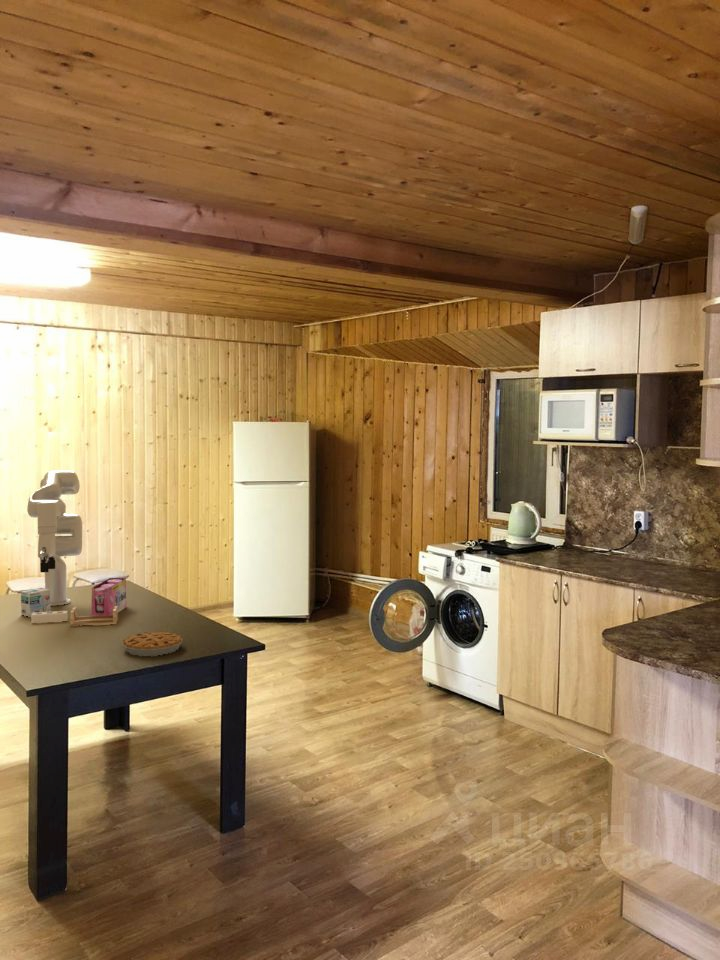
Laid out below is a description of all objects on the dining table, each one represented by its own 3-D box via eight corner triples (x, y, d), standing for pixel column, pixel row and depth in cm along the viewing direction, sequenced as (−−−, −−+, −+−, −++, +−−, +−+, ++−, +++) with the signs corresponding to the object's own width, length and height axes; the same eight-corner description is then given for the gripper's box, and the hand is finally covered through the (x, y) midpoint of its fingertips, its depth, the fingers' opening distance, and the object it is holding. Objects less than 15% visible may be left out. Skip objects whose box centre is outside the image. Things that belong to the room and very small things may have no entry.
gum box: (107, 619, 341) (107, 588, 340) (89, 619, 341) (89, 588, 340) (126, 607, 365) (126, 577, 364) (110, 606, 365) (109, 577, 364)
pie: (193, 650, 297) (193, 637, 297) (140, 662, 282) (140, 648, 282) (163, 638, 313) (163, 626, 312) (111, 649, 298) (111, 636, 297)
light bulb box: (29, 618, 343) (29, 593, 342) (20, 615, 346) (20, 591, 346) (51, 613, 352) (51, 589, 351) (42, 611, 355) (41, 587, 355)
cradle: (73, 621, 337) (73, 607, 337) (117, 619, 341) (117, 605, 341) (70, 626, 329) (70, 612, 329) (116, 624, 333) (115, 610, 332)
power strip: (32, 621, 337) (32, 612, 337) (67, 619, 341) (67, 610, 341) (31, 624, 333) (31, 615, 333) (66, 622, 337) (66, 613, 337)
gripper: (44, 528, 344) (45, 567, 344) (31, 532, 327) (32, 573, 327) (62, 528, 345) (62, 567, 345) (50, 532, 327) (51, 573, 328)
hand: (47, 570), depth 336 cm, fingers open, 9 cm apart
